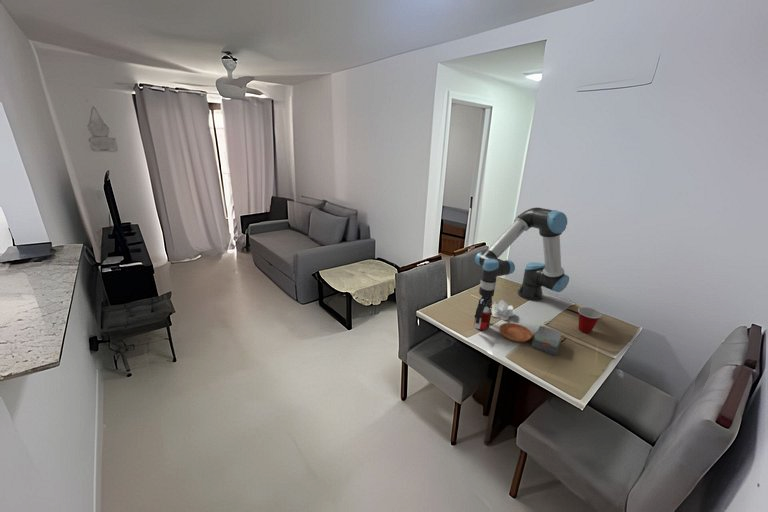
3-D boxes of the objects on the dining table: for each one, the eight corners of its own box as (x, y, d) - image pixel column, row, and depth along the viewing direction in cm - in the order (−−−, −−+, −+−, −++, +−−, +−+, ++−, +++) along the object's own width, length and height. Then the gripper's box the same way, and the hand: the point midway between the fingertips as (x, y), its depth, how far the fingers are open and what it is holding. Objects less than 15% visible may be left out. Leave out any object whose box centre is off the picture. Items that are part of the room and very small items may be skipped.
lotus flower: (491, 319, 175) (493, 306, 172) (486, 307, 189) (488, 295, 186) (516, 322, 173) (519, 308, 171) (510, 309, 188) (512, 297, 185)
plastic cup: (570, 330, 166) (575, 311, 162) (575, 323, 174) (580, 304, 170) (594, 338, 159) (599, 318, 156) (597, 330, 167) (603, 311, 163)
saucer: (537, 343, 154) (539, 338, 153) (509, 345, 152) (510, 340, 151) (519, 326, 169) (520, 321, 168) (493, 328, 167) (494, 323, 166)
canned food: (489, 331, 163) (492, 313, 160) (474, 329, 165) (477, 311, 161) (488, 323, 170) (490, 306, 167) (473, 322, 172) (475, 304, 168)
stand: (537, 335, 161) (539, 324, 158) (560, 343, 154) (563, 331, 152) (531, 346, 151) (534, 334, 148) (556, 355, 144) (559, 343, 142)
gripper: (488, 279, 172) (483, 312, 178) (471, 293, 153) (466, 329, 159) (501, 282, 168) (495, 316, 174) (486, 297, 149) (480, 335, 155)
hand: (481, 323), depth 167 cm, fingers open, 13 cm apart
